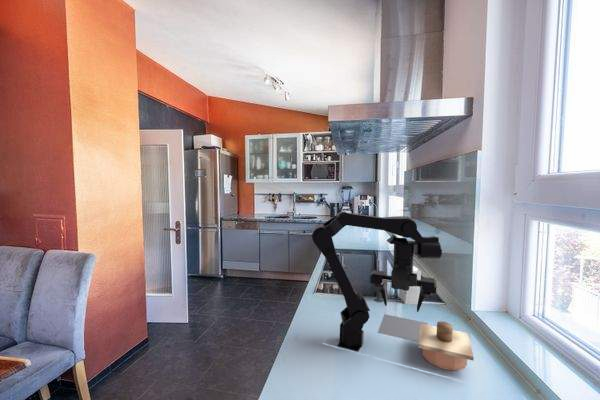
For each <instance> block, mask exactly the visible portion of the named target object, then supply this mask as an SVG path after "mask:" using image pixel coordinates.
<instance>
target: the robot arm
mask: <svg viewBox="0 0 600 400" xmlns="http://www.w3.org/2000/svg"><path fill="white" fill-rule="evenodd" d="M346 226H350V227H356V228H364V229H371V230H379V231H385V232H388V233H390V234H392V235H391V236H390V237H389V238H387V239H386V242H387V243H389V244H390V245H393V257H392V258H393V259H392V261H393V262H392V269H391V275H389V274H386V273H387V272H386V271H383V270H379V271H378V269H375V270H373V271H372V272H371V273H370V277H369V283H370V284H374V285H373V287H374V286H376V287H378V288H379V290H380V292H381V293H380V295H381V297H382V300H383V303H384V306H386V307H387V306H388V291H387V290H388V289H387V282H389V283H390V284H391V285H390V286H391V288H392V289H393V290H400V289H401V290H404V291H408V290H409V286H411V287H413V286H415V287H416V286H419V287H420V293H419V299H418V304H417V305H416V312H417V313H419V311H420V309H421V306H422V304H423V302H424V300H425V298H427V296H431V295H432V294H437V284H438V283H437V280H436V279H435V278H434V277H433V278H432V277H427V276H426V277H425V276H421V280H417V274H415V273H413V266H414V255H415V256H416V257H417V258H418V259H420V260H422V259H423V260H440V259H441V258H442V254H443V250H442V245H441V243H440V239H439V237H438V236H435V235H431V236H422V234H421V233H420V231H419V230H418V225H417V223H416V221H415V220H414V219H413V218H409V217H406V216H402V215H398V216H395V215H394V216H387V217H386V216H383V217H381V216H373V215H367V214H360V213H351V212H346V211H342V210H341V211H340V212H338V213H337V214H336V215H335V216H333V217H331V218H330V219H328V220H326V221H325V222H324V223H322V224H320V223H319V224H317V225H315V226H314V227H313V228H312V231H311V239H312V242H313V243H314V245H315V246H316V247H317V249H318V250H319V251H320V253H321V254H322V255H323V257H324V258H325V261H326V262H327V264H328V265H329V268H330V270H331V272H332V274H333V277H334V278H335V281H336V283H337V284H338V287H339V289H340V291H341V294H342V295H343V298H344V302H345V305H346V307H345V308H343V309H342V310H341V311H340V312H339V313H340V318H341V322H340V324H339V341H338V343H337V347H340V348H344V349H348V350H351V351H355V352H359V351H360V349H361V348H362V347H363V345H364V335H365V334H364V333H365V331H364V329H363V327H364V325H365V324H366V323H368V321H369V319H370V313H369V312H371V310H370V308H369V305H368V303H367V301H366V300H365V297H364V295H363V293H362V292H361V291H359V292H357V291H356V290H355V289H354V287H353V285H352V283H351V281H350V278H349V276H348V274H347V272H346V270H345V268H344V266H343V264H342V261H341V259H340V257H339V256H338V253H337V251H336V248H335V243H334V240H333V238H334V236H336V235H337V234H338V233H339V232H340V231H341V230H342V229H343V228H345V227H346ZM397 236H398V237H397ZM408 238H409V239H411V240H408Z"/></svg>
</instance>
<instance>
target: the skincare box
mask: <svg viewBox="0 0 600 400" xmlns="http://www.w3.org/2000/svg"><path fill="white" fill-rule="evenodd" d="M413 273H415V274H417V280H422V271H421V270H419V268H418V267H416V266H415V265H413ZM420 288H421V287H419V286H416V287H415V286H413V287H411V286H409V290H408V291H404V290H401V289H399V294H398V297H399V299H401V301H402V302H403V303H404V305H409V306H410V305H411V306H417V304H418V299H419V293H420Z"/></svg>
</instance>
